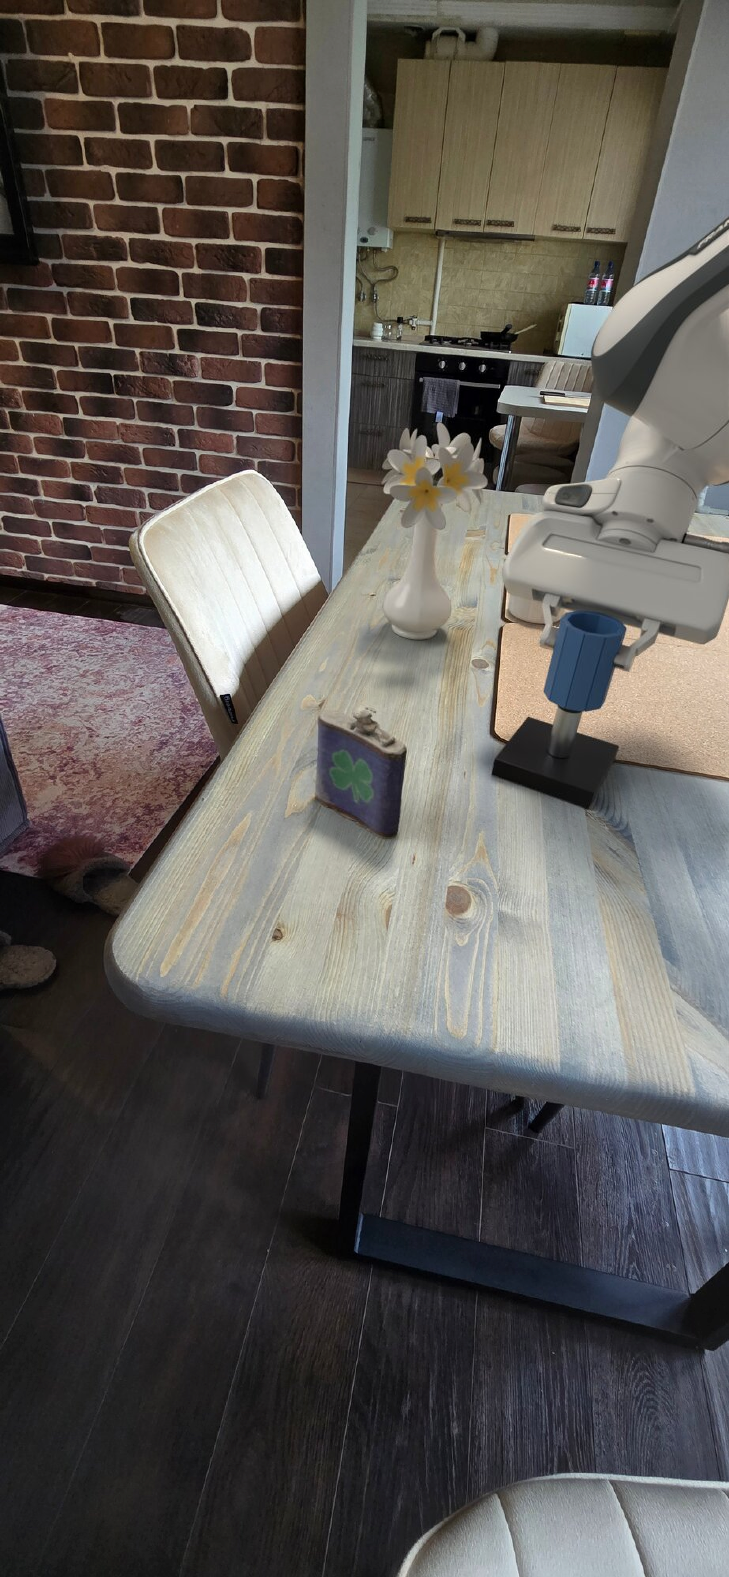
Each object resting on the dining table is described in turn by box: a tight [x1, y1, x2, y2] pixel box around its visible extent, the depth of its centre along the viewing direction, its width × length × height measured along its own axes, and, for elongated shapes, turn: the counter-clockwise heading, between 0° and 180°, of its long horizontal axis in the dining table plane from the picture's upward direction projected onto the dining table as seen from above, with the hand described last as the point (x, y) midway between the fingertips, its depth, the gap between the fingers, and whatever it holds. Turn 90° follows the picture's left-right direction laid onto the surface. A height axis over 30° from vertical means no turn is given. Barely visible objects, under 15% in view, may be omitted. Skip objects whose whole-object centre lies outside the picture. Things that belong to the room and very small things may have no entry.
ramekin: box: [507, 594, 566, 625], centre depth 107 cm, size 9×9×4 cm
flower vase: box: [381, 422, 488, 641], centre depth 93 cm, size 13×18×25 cm
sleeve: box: [543, 610, 627, 713], centre depth 68 cm, size 6×6×8 cm
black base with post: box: [491, 705, 620, 810], centre depth 73 cm, size 10×10×8 cm
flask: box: [314, 706, 408, 840], centre depth 64 cm, size 9×3×11 cm, turn 50°
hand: (582, 657), depth 67 cm, fingers closed on sleeve, 5 cm apart
